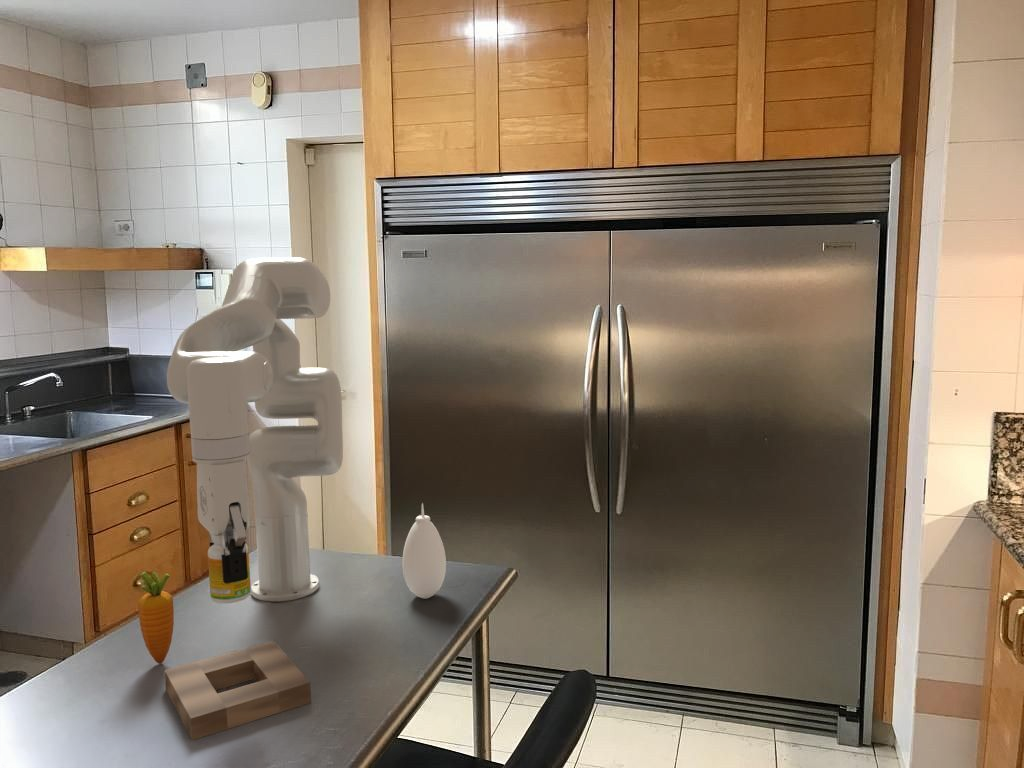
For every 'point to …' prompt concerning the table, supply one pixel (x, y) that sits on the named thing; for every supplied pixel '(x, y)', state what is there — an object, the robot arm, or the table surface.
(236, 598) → the supplement bottle
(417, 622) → the table surface
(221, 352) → the robot arm
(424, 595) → the white air blower bulb
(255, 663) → the bore block
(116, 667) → the table surface
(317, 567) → the table surface
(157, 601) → the carrot
